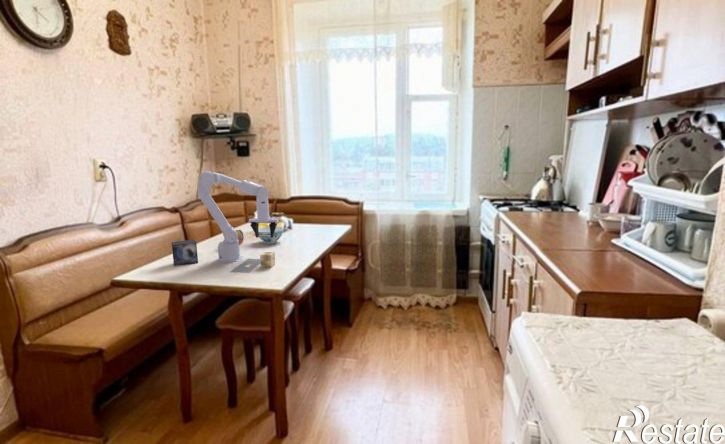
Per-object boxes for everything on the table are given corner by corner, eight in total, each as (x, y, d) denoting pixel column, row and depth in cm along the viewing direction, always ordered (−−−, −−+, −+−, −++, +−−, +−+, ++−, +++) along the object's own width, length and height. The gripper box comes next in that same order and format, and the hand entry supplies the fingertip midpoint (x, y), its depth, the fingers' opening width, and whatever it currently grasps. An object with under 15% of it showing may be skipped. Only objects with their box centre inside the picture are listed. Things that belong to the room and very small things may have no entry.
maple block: (261, 267, 181) (260, 255, 179) (265, 264, 185) (264, 251, 184) (271, 268, 180) (270, 255, 179) (275, 264, 185) (274, 252, 184)
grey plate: (229, 272, 175) (229, 272, 175) (248, 259, 194) (248, 258, 194) (249, 273, 174) (249, 272, 174) (265, 259, 193) (265, 259, 193)
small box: (174, 266, 185) (171, 244, 183) (173, 263, 190) (171, 241, 188) (198, 263, 190) (196, 241, 187) (197, 259, 195) (195, 239, 193)
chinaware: (289, 241, 229) (288, 227, 227) (270, 247, 216) (269, 233, 215) (270, 238, 237) (269, 225, 235) (251, 243, 224) (250, 230, 223)
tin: (230, 249, 212) (229, 234, 211) (225, 249, 213) (224, 234, 211) (244, 242, 227) (243, 228, 225) (239, 242, 227) (238, 228, 226)
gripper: (245, 211, 193) (247, 239, 195) (274, 211, 191) (276, 239, 194) (251, 209, 200) (253, 235, 202) (279, 209, 198) (280, 236, 200)
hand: (264, 237), depth 198 cm, fingers open, 7 cm apart
